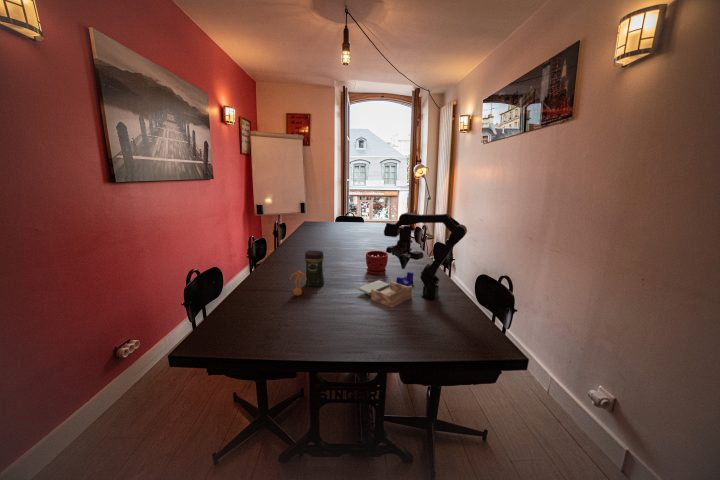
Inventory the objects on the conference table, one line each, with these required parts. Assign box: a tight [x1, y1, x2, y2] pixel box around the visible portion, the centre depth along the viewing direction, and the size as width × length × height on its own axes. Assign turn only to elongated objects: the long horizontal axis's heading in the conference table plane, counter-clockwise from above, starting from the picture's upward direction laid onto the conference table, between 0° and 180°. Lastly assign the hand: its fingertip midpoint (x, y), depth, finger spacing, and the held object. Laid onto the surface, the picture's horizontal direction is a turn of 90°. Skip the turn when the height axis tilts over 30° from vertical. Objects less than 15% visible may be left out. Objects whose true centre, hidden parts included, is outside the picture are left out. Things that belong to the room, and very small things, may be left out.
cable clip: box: [396, 271, 414, 287], centre depth 159 cm, size 12×4×6 cm, turn 140°
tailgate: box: [357, 279, 390, 297], centre depth 148 cm, size 2×16×8 cm
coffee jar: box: [304, 249, 325, 288], centre depth 155 cm, size 10×8×19 cm
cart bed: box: [370, 281, 413, 308], centre depth 141 cm, size 12×16×6 cm
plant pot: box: [365, 250, 389, 275], centre depth 177 cm, size 13×13×12 cm
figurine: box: [289, 270, 307, 297], centre depth 142 cm, size 8×6×12 cm
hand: (403, 268), depth 148 cm, fingers closed
